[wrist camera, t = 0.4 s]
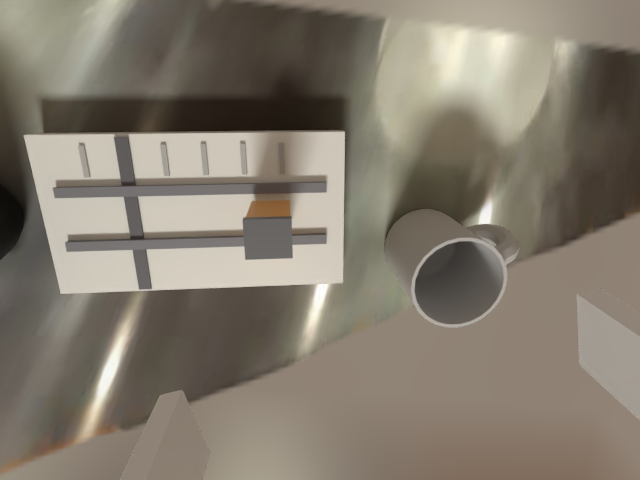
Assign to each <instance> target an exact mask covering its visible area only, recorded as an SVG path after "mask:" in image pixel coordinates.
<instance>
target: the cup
mask: <svg viewBox="0 0 640 480" xmlns="http://www.w3.org/2000/svg"><path fill="white" fill-rule="evenodd" d="M489 243H491V244H493V245H495V247H494V246H492V245H491V244H489ZM519 248H520V245H519V241H518V239H517V238H516V237H515V236H514V235H513V234H512V233H511V232H510V231H509V230H507V229H506V228H504V227H501V226H497V225H491V224H481V225H474V226H470V227H466V228H465V227H464V226H463V225H461V224H460V223H458V222H457V221H455V220H454V219H452V218H451V217H449V216H447V215H446V214H444V213H442V212H440V211H436V210H433V209H419V210H415V211H411V212H409V213H407V214H405V215H404V216H402V217H401V218H400V219H398V220H397V221H396V222H395V223H394V224H393V226H392V227H391V229H390V230H389V232H388V235H387V237H386V240H385V250H384V251H385V256H386V260H387V262H388V264H389V266H390V268H391V270H392V272H393V273H394V275H395V276H396V278H397V279H398V281H399V283H400V284H401V286H402V287H403V289H404V290H405V292H406V294H407V295H408V297H409V298H410V300H411V301H412V303H413V304H414V306H415V308H416V309H417V311H418V312H419V313H420V314H421V315H422V316H423V317H424V318H425V319H426V320H428V321H430V322H432V323H433V324H435V325H439V326H444V327H461V326H465V325H469V324H472V323H474V322H476V321H478V320H480V319H482V318H483V317H485V316H486V315H487V314H488V313H489V312H491V311H492V310H493V309H494V307H495V306H496V305H497V304H498V302H499V301H500V299H501V297H502V295H503V293H504V291H505V288H506V282H507V268H506V264H508V263H509V262H511V261H512V260H514V259H515V257H516V256H517V254H518V251H519Z"/></svg>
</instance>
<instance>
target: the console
mask: <svg viewBox="0 0 640 480" xmlns="http://www.w3.org/2000/svg"><path fill="white" fill-rule="evenodd" d="M24 139H25V143H26V147H27V152H28V156H29V160H30V164H31V169H32V173H33V177H34V181H35V186H36V190H37V194H38V198H39V203H40V207H41V211H42V215H43V219H44V224H45V228H46V232H47V236H48V241H49V245H50V249H51V253H52V258H53V262H54V266H55V270H56V275H57V279H58V283H59V287H60V292H61V294H68V293H94V292H120V291H146V290H172V289H198V288H224V287H250V286H276V285H302V284H329V283H343V238H344V167H345V131H342V130H286V131H186V132H86V133H38V134H28V135H24ZM275 200H290V216H292V249H293V258H286V259H256V260H245V249H244V235H243V217H246V215H247V212H248V210H249V207H250V204H251V202H252V201H275Z"/></svg>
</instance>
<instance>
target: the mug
mask: <svg viewBox="0 0 640 480" xmlns="http://www.w3.org/2000/svg"><path fill="white" fill-rule="evenodd" d="M22 228H23V216H22V212H21V209H20V206H19V204H18V202H17V201H16V199H15V198H14V197H13V195H12V194H11V193H10V192H9V191H8V190H7V189H5V188H4V187H3V186H1V185H0V260H1V259H2V258H3V257H4V256H5V255H6V254H7V253H8V252H9V251H10V250H11V249H12V248H13V247H14V245H15V244H16V242H17V241H18V239H19V237H20V235H21V232H22Z"/></svg>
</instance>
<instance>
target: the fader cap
mask: <svg viewBox="0 0 640 480" xmlns="http://www.w3.org/2000/svg"><path fill="white" fill-rule="evenodd" d="M243 235H244V249H245V260H256V259H286V258H293V249H292V216H290V200H275V201H252V202H251V204H250V207H249V210H248V212H247V215H246V217H243Z"/></svg>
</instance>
